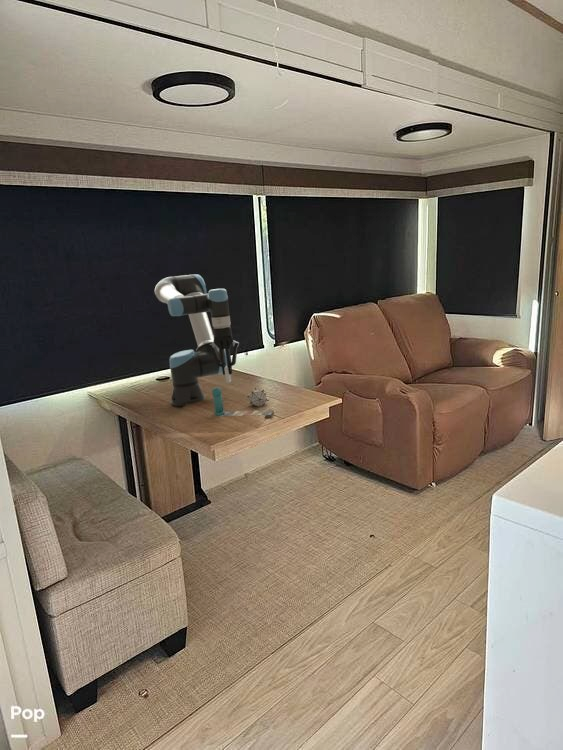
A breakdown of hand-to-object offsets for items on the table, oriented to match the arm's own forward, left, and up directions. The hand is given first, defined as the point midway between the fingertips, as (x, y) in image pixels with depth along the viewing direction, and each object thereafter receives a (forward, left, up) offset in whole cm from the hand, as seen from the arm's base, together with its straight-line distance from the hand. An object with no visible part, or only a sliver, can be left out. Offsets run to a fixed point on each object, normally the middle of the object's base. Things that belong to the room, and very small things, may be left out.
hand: (228, 381), depth 212 cm
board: (+8, -11, -12) cm, 18 cm away
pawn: (-2, -11, -11) cm, 15 cm away
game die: (+12, 0, -12) cm, 17 cm away
